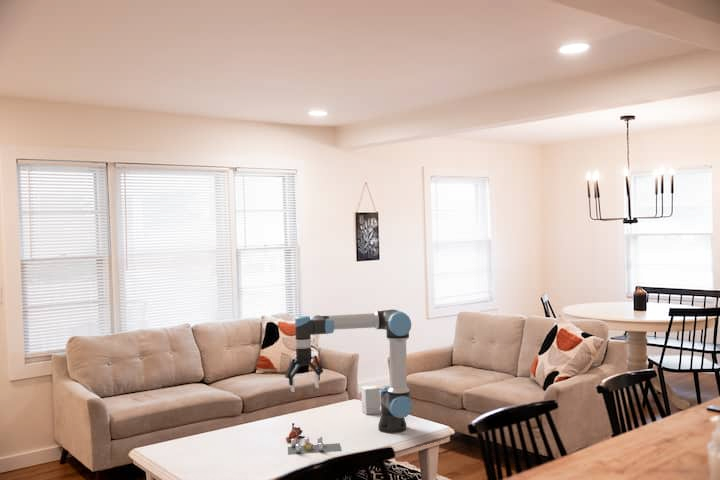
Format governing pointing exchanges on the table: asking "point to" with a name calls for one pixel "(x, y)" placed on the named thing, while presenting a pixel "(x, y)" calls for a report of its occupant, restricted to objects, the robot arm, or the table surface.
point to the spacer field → (306, 440)
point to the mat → (317, 449)
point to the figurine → (294, 433)
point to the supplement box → (370, 399)
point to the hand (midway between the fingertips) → (305, 389)
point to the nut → (308, 446)
